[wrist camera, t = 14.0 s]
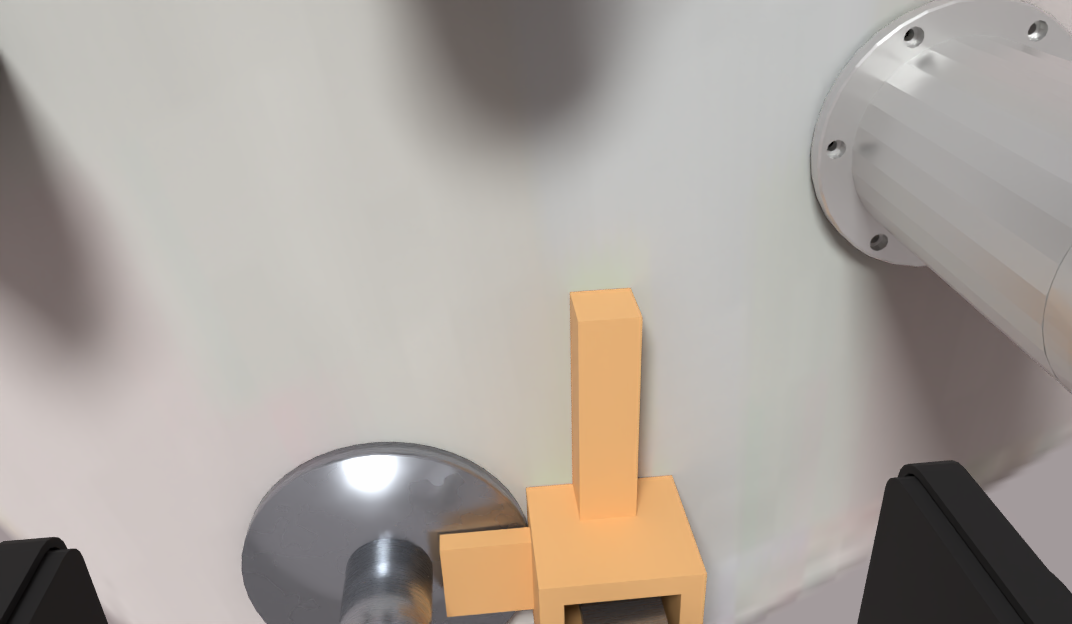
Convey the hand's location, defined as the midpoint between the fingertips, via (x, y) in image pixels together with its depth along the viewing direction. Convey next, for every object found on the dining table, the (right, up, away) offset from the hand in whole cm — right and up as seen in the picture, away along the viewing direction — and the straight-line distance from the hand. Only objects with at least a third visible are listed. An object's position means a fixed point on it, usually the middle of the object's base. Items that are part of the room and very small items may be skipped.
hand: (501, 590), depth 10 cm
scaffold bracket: (+1, -5, +37) cm, 38 cm away
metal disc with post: (-8, -11, +40) cm, 42 cm away
